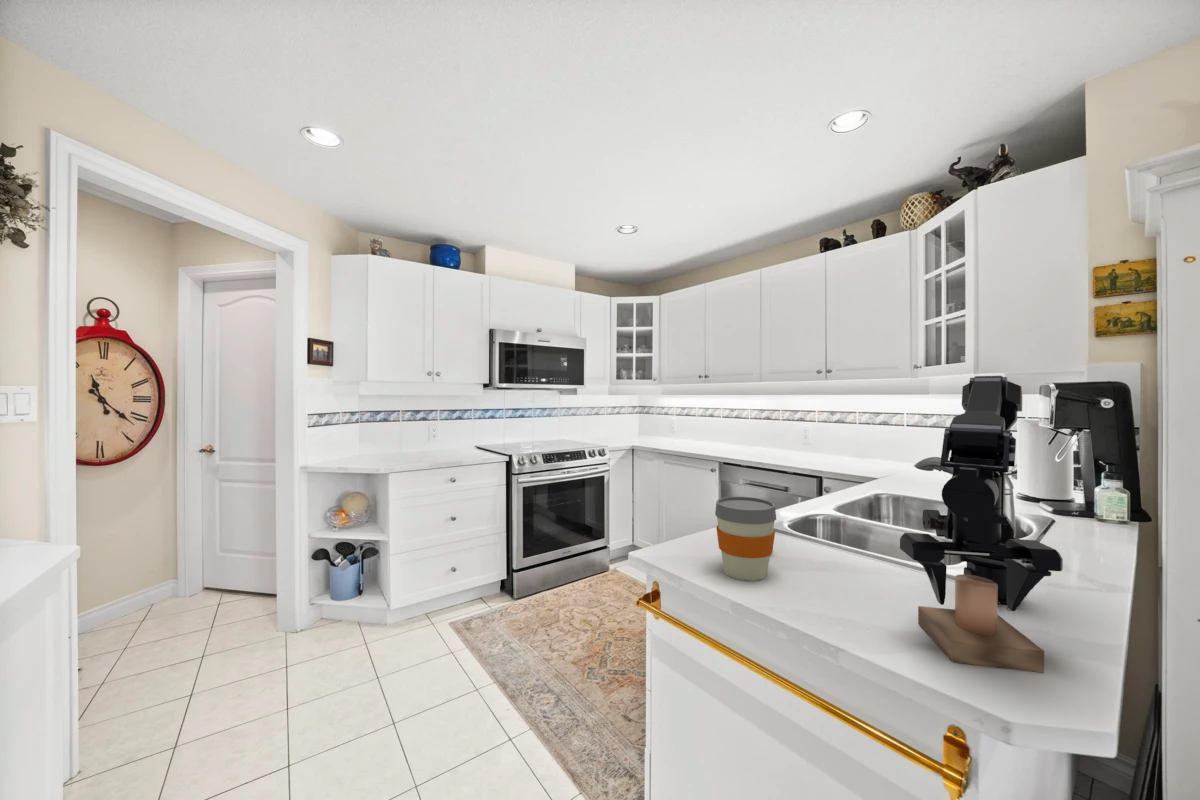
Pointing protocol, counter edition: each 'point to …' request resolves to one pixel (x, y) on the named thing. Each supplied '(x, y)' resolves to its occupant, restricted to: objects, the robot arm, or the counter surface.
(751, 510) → the reusable coffee cup
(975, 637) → the walnut block
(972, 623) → the tan cylinder
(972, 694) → the counter surface
